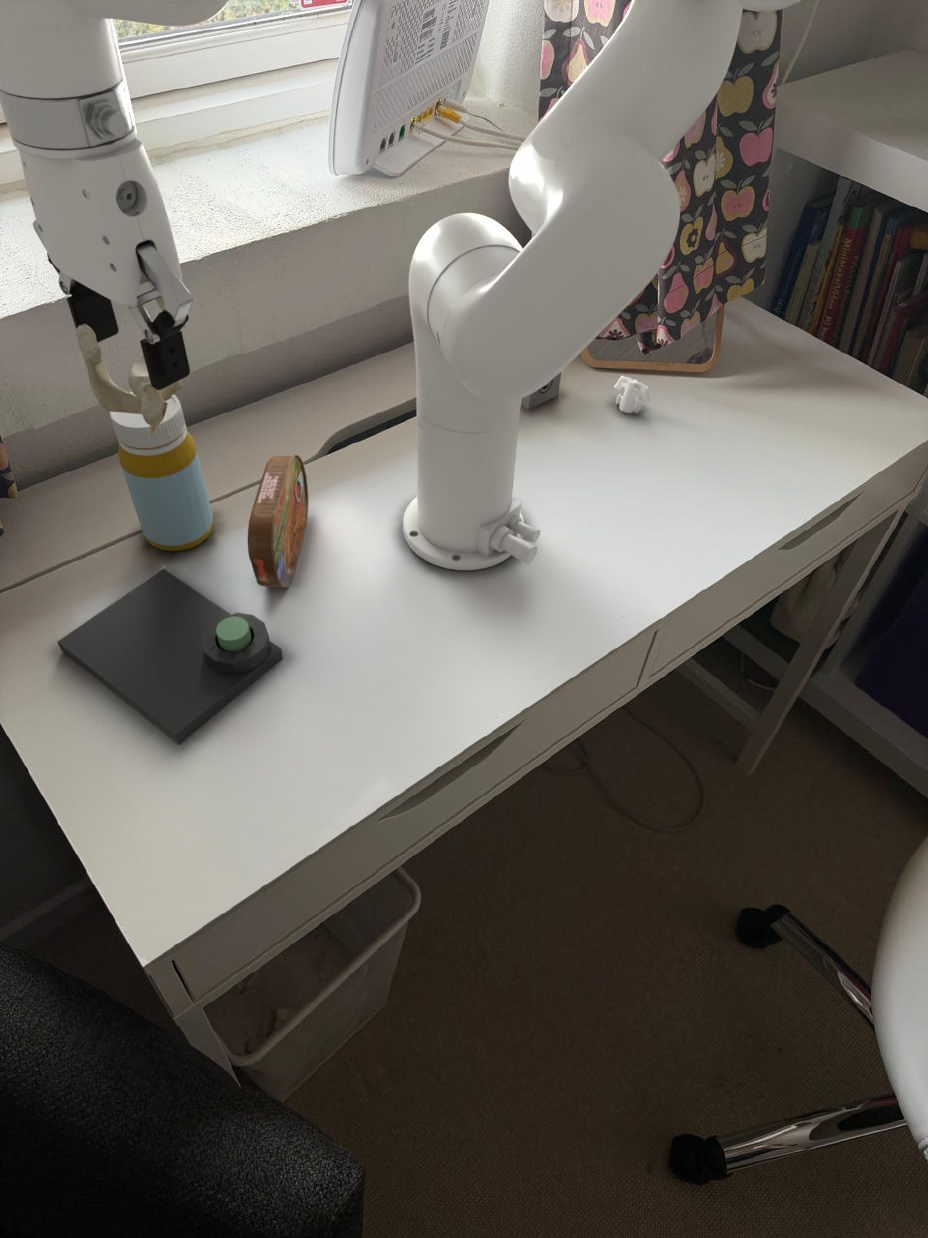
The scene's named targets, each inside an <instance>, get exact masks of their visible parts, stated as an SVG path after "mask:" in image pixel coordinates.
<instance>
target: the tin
mask: <svg viewBox="0 0 928 1238" xmlns="http://www.w3.org/2000/svg"><path fill="white" fill-rule="evenodd" d="M307 479H308V478H307V473H306V469H305V465H304V462H303V459H302V458H301V456H300V455H298V454H293V455H274V456H272V457H270V458H269V459H268V461H267V462H266V464H265V467H264V470H263V473H262V477H261V479H260V482H259V485H258V489H257V492H256V495H255V498H254V502H253V505H252V507H251V512H250V516H249V520H248V525H247V526H248V527H247V550H248V552H247V553H248V558H249V561H250V563H251V567H252V571H253V574H254V578H255V580H256V583H257V585H259V586H260V587H269V588H270V587H271V588H272V587H273V588H284V589H287V588H288V587H289V586H290V585H291V584H292V582H293V580H294V576H295V573H296V568H297V564H298V560H299V556H300V553H301V548H302V545H303V540H304V536H305V532H306V528H307V523H308V516H309V489H308V480H307Z"/></svg>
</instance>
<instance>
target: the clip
mask: <svg viewBox="0 0 928 1238" xmlns="http://www.w3.org/2000/svg"><path fill="white" fill-rule="evenodd" d="M613 388H614V389H615V390H618V391H619V392H620V393H619V394H618V395H617V396H616V398H615V404H616V405H618V409H619V410H620V411H621V412H622V413H625V414H632V413H634V414H637V413H639V412H640V411H641V410H642V407H643V406H642V405H643V403H650V402H651V396H650V391H649V387H648V386H647V385H645V384H644V383H643V382H639V381H638V379H632V378H631V377H629V376H625V375H621V376H620V377H619V378H618V380H617V381H616V383H615V384H614V386H613ZM622 390H624V391H623V392H621V391H622ZM635 394H637V395H638V396H639V399H638V400H639V402H636V401H635ZM642 402H643V403H642Z"/></svg>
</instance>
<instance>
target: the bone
mask: <svg viewBox="0 0 928 1238" xmlns="http://www.w3.org/2000/svg"><path fill="white" fill-rule="evenodd" d="M75 332H76V338H77V345H78V347H79V350H80V352H81V353H82V357H83V360H84V364H85V367H86V371H87V375H88V381H89V385H90V387H91V391H92V393H93V395H94V396H95V398H96V399H97V402H98V403H99V406H100V407H101V408H102V409H103V410H104V411H105V412H107V413H110V412H123V413H133V414H142V415H143V418H144V419H145V422H146V423H147V424H148V425H150V430H149V433H150V436H152V437H153V436H155V435H156V426H158V425H159V424H160V423H161V422H162V420H163V419H164V417H165V414H166V409H167V404H168V403H167V402H165V401H166V400H169V399H171V396H172V395H175V394H176V393H177V392H178V391H179V390H181V389H183V388H184V384H183V382H182V379H181V380H179V381H177V382H175V383H173V384H171V385H169V386H167V387H165V388H163V389H161V390H157V389H155V388H153V387H152V386H151V382H150V378H149V375H148V371H147V367H146V363H145V359H144V355H142V356H140V357H139V358H138V359H137V360H136V361H135V362H134V363H133V364H132V366H131V367H130V368H129V371H128V375H127V376H128V377H127V380H128V387H129V389H130V390H131V392H133V393H134V394H132V393H130V391H127V390H124V389H123V388H121V387H119V386H118V385H117V384H116V383H115V382H114V381H113V380H112V378H111V377H110V375H109V371H108V369H107V365H106V361H105V358H104V356H103V354H102V353H103V352H102V350H101V348H100V346H99V342H97V340H96V335H95V333H94V332H93V330H92V329H91V328H90V327H88V325H87V324H83V325H79V326H78V328H77V330H76V329H75Z"/></svg>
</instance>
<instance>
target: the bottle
mask: <svg viewBox="0 0 928 1238" xmlns="http://www.w3.org/2000/svg"><path fill="white" fill-rule="evenodd" d="M129 393H132V394H134V393H133V392H132V391H129ZM165 402H167V403H168V404H167V409H166V414H165V417H164V419H163V420H162V422H161V423H160V424H159V425H158V426H156V435H155V436H153V437H152V436H150V433H149V430H150V425H148V424H147V423H146V422H145V419H144V418H143V415H142V414H133V413H123V412H109V419H110V420H111V424H112V426H113V430H114V433H115V436H116V438H117V442H118V454H117V456H118V459H119V464H120V467H121V470H122V473H123V476H124V479H125V481H126V484H127V488H128V491H129V494H130V496H131V499H132V500H131V501H132V503H133V506H134V509H135V513H136V515H137V519H138V521H139V524H140V528H141V531H142V533H143V536H144V538H145V541H147V542H148V543H149V544H150V545H151V546H153V547H155V548H157V549H160V550H163V551H168V552H183V551H187V550H190V549H193V548H195V547H197V546H199V545H200V544H203V542H204V541H205V540H206V539H207V538H208V537H209V536H210V535H211V533H212V531H213V530H214V526H215V525H214V523H215V521H214V514H213V511H212V508H211V503H210V499H209V495H208V491H207V487H206V486H207V485H206V482H205V478H204V473H203V469H202V466H201V461H200V458H199V453H198V450H197V446H196V443H195V440H194V438H193V436H192V435H191V433H190V432H189V431H188V429H187V425H186V421H185V415H184V413H183V408H182V404H181V402H180V400H179V398H178V397H177V396H176V395H175V394H174V395H172V396H171V399H169V400H166V401H165Z"/></svg>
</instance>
